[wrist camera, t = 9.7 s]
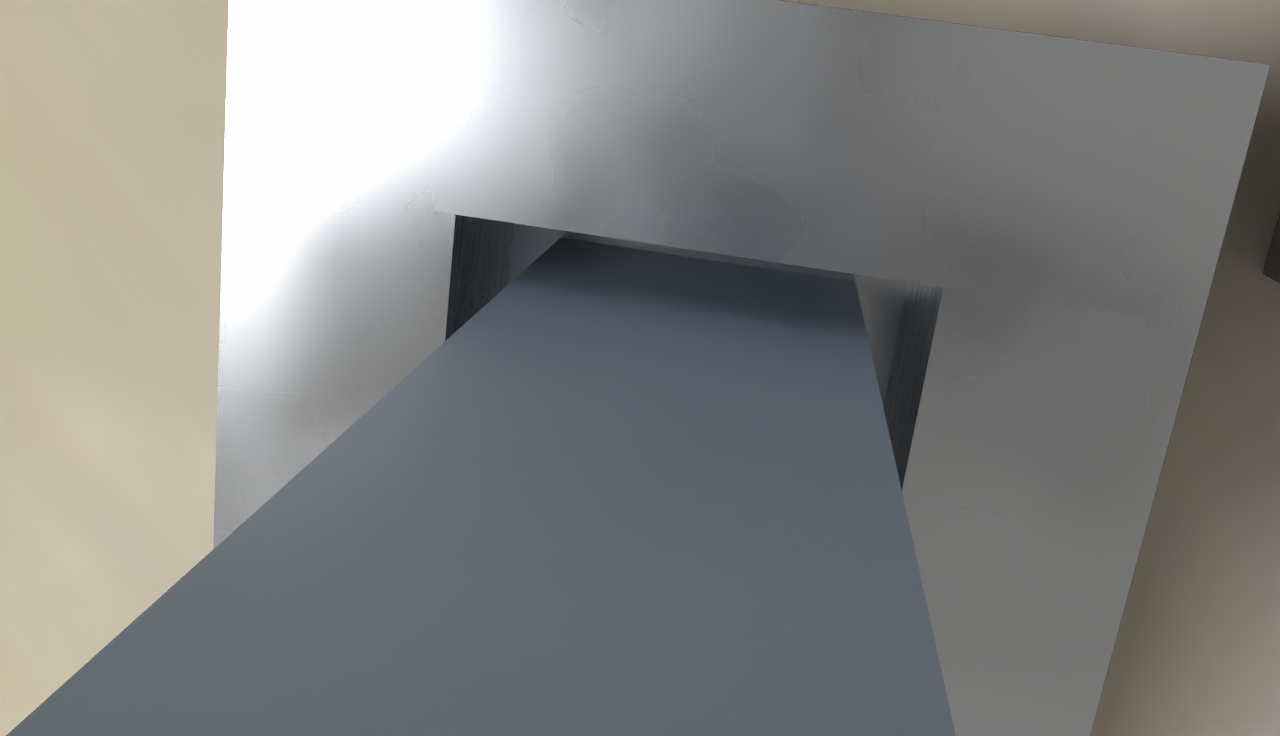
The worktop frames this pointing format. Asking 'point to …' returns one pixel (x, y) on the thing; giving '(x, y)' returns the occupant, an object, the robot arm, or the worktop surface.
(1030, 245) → the block
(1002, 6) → the worktop surface
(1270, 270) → the dark grey flat frame
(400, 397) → the plug
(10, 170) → the worktop surface
